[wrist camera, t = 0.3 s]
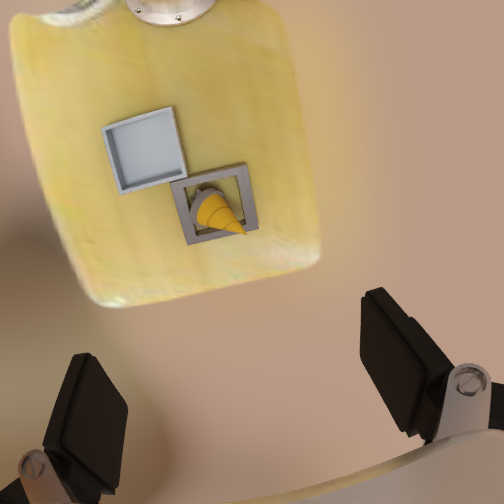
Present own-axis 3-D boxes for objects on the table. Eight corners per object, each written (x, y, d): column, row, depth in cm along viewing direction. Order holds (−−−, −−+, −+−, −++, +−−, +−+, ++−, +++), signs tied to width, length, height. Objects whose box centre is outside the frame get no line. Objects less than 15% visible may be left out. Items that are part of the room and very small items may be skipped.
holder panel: (171, 179, 41) (169, 183, 39) (245, 162, 41) (246, 165, 40) (187, 240, 45) (187, 245, 43) (256, 224, 45) (258, 228, 44)
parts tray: (107, 126, 36) (100, 128, 33) (173, 106, 37) (170, 106, 34) (125, 188, 40) (119, 195, 38) (188, 171, 41) (187, 176, 38)
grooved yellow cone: (204, 172, 42) (262, 206, 38) (206, 201, 46) (259, 236, 42) (173, 191, 39) (230, 231, 35) (178, 221, 43) (231, 260, 39)
